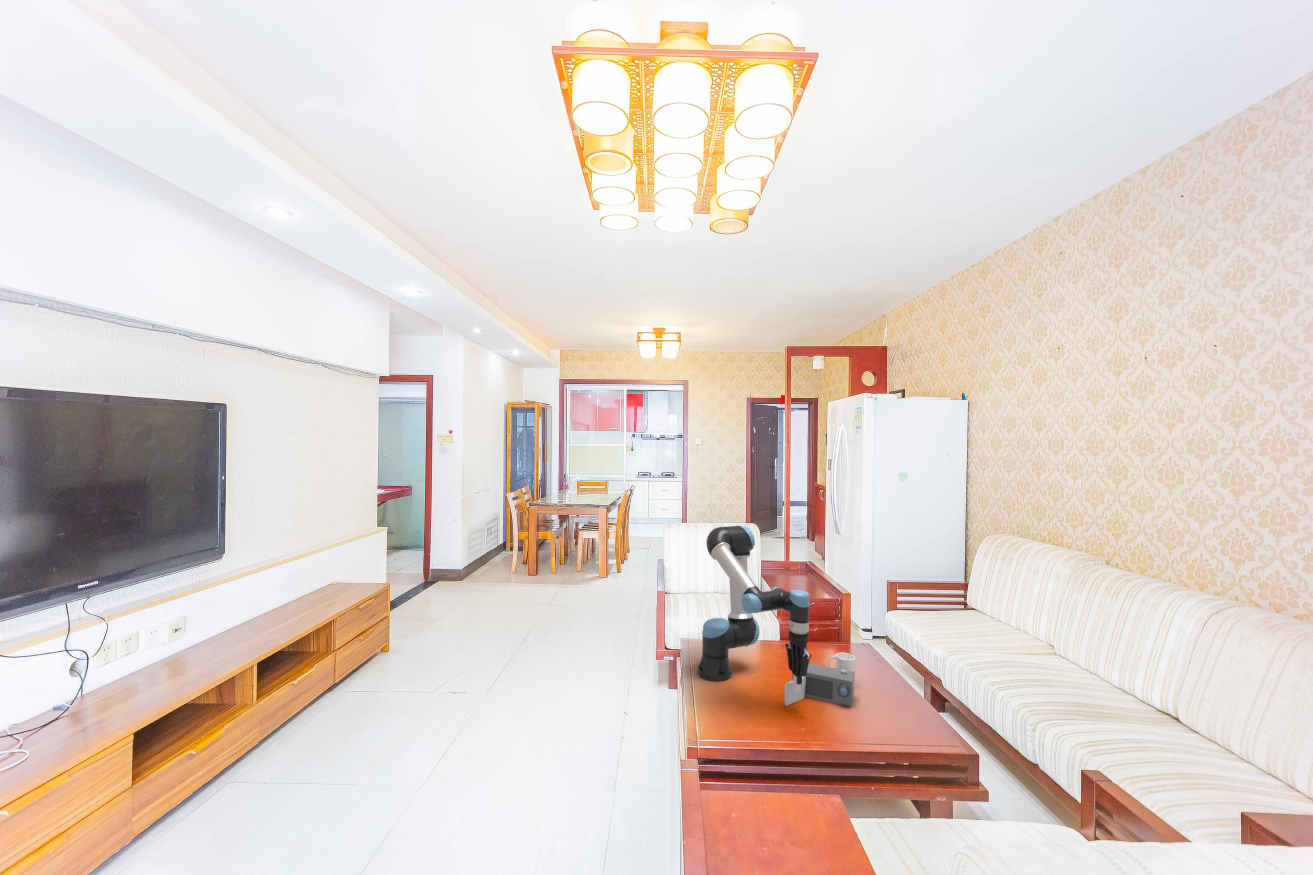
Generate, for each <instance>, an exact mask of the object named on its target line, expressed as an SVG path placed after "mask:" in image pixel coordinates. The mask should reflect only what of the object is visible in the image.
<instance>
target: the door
mask: <svg viewBox="0 0 1313 875" xmlns="http://www.w3.org/2000/svg"><path fill="white" fill-rule="evenodd" d="M805 689H806V677H805V676H803V677H802V684H801V691H800V692H794V691H793V680H790V681H788V682H785V683H784V704H783V705H784V706H787V707H788V706H790V705H792V704H794V703H797V702H798V701H801V700H804V699H806V697H805Z"/></svg>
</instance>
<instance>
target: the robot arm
mask: <svg viewBox="0 0 1313 875" xmlns="http://www.w3.org/2000/svg"><path fill="white" fill-rule="evenodd" d="M705 543H706V549H707V552H708V554H709V556H711V559H713V560H714V561H717V563H718V564H719V566H720V567H721V569H722V570H723V572H724V573H725V574H726V576H727V577H728V579H729V597H730V598H729V599H730V612H729V613H728V615H727V619H726V618H722V617H714V618H709V619H707V620H706V621H705V622H704V623H703V625H702V627H703V628H702V633H701V634H702V649H701V650H702V652H701V657H700V660H699V663H698V666H697V675H698V676H700V678H703V679H704V680H708V681H713V682H721V681H722V682H723V681H728V680H730V679H731V678H732V676H733V669H732V665H731V662H730V658H729V650H731V649H736V648H740V647H741V648H743V647H749V646H752V645H754V644H756V642H757V641H758V640H759V638H760V625H759V624H758V620H757V619H755V617H754V615H753V614H759V613H763V612H772V611H777V610H784V612H785V611H786V612H787V613H789V614H788V615H789V617H788V621H789V622H788V641H789V642H788V643H785V644H784V646H785V649H786V655H787V656H786V657H787V664H788V669H789V671H790V672H791V673H792V680H791V681H793V691H794V692H800V691H801V684H802V676H806V674H807V669H808V664H809V663H810V660H811V659H812V656H813V655H812V654H811V653H809V652H808V647H807V645H808V642H809V631H810V606H811V602H810V601H811V600H810V593H809V592H808V591H806V590H802V589H792V590H791V591H788V590H786V589H784V588H782V587H778V586H774V587H772V588H771V589H769V590H768V591H766V590H765V591H761V590H760V588H759V586H757V584H756V583H755V581H754V579H752V577H751V576H750V575H749V572H748V571H749V570H748V559H749V557H750V556H751V551H752V550H754V547H755V545H756V541H755V536H754V533H753V531H752V530H751V529H750V527H747V526H746V525H730V526H717V527H715V528H713V529H712V530H711V531H710V532H709V533H708V535H707V538H706V542H705Z"/></svg>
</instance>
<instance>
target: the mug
mask: <svg viewBox="0 0 1313 875" xmlns="http://www.w3.org/2000/svg"><path fill="white" fill-rule="evenodd" d="M833 659H835V668H837V669H845V670H847V671H852V672H855V673H856V656H855V655H853V654H851V653H847V652H837V653H836V654H835V655H833V656H831V657H830V658H829V659H828V667H831V668H832V666H831V660H833ZM855 687H856V676H855V677H854V688H855Z"/></svg>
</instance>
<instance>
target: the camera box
mask: <svg viewBox="0 0 1313 875" xmlns="http://www.w3.org/2000/svg"><path fill="white" fill-rule="evenodd" d="M802 677H803V676H802ZM805 677H806V689H805V698H810V699H813V700H819V701H824V702H828V703H832V704H837V705H842V706H846V707H851V708H852V707H853V704H854V698H855V687H854V677H855V678H856V671H855V672H852V671H847V670H845V669H837V668H836V667H832V666H831V667H829V666H826V665H825V666H824V665H820V664H815V663H810V662H809V664H808V669H807V674H806V676H805Z"/></svg>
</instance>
